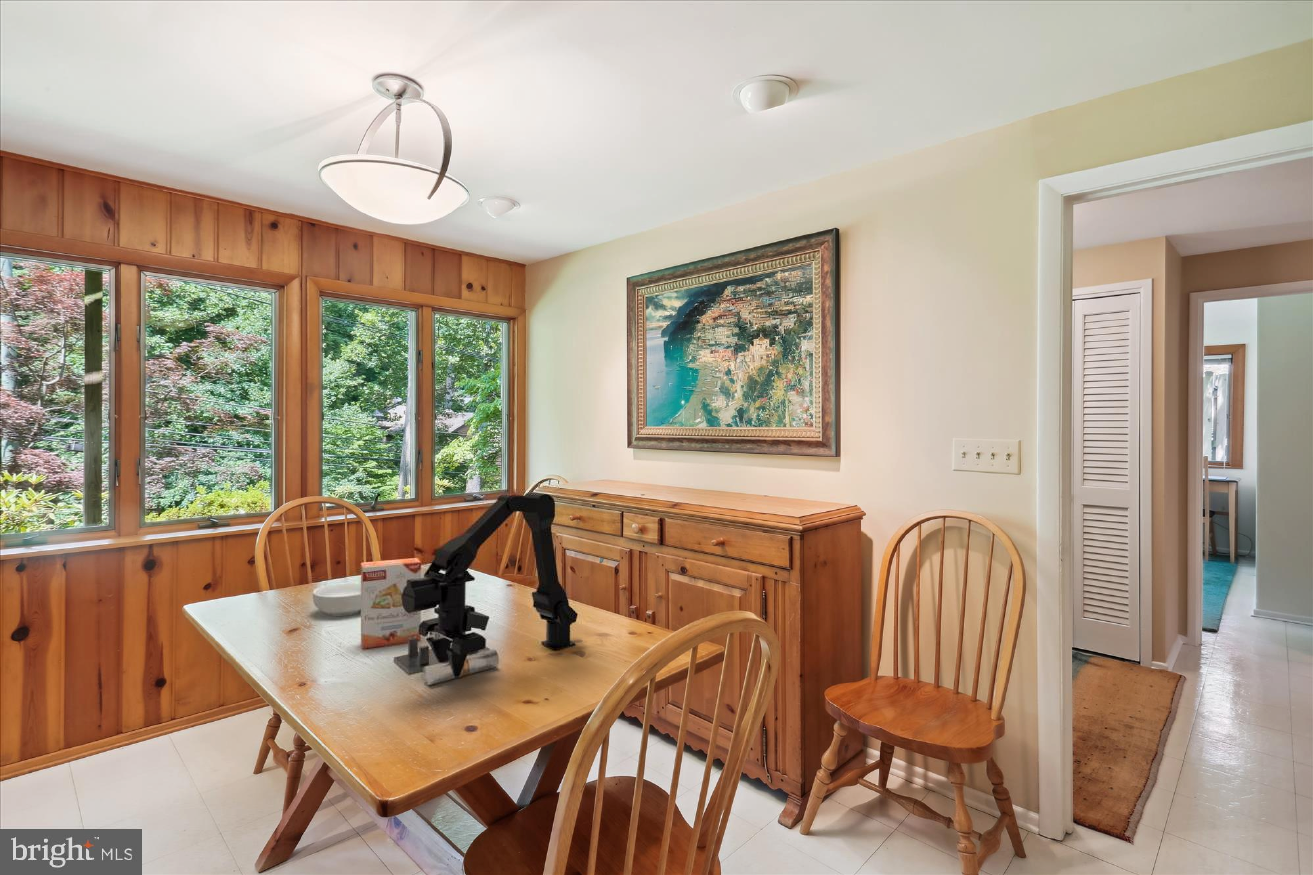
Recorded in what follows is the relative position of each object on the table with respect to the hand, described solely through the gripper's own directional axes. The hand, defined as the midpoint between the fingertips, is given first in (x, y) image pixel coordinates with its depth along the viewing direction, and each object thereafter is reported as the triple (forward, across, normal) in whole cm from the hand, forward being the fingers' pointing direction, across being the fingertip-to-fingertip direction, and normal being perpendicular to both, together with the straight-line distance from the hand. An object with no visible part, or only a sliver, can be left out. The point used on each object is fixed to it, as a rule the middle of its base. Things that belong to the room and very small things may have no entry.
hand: (450, 673), depth 142 cm
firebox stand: (+2, +13, -5) cm, 14 cm away
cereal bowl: (+3, +67, -4) cm, 68 cm away
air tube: (+1, -1, -3) cm, 3 cm away
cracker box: (+2, +32, -2) cm, 33 cm away
